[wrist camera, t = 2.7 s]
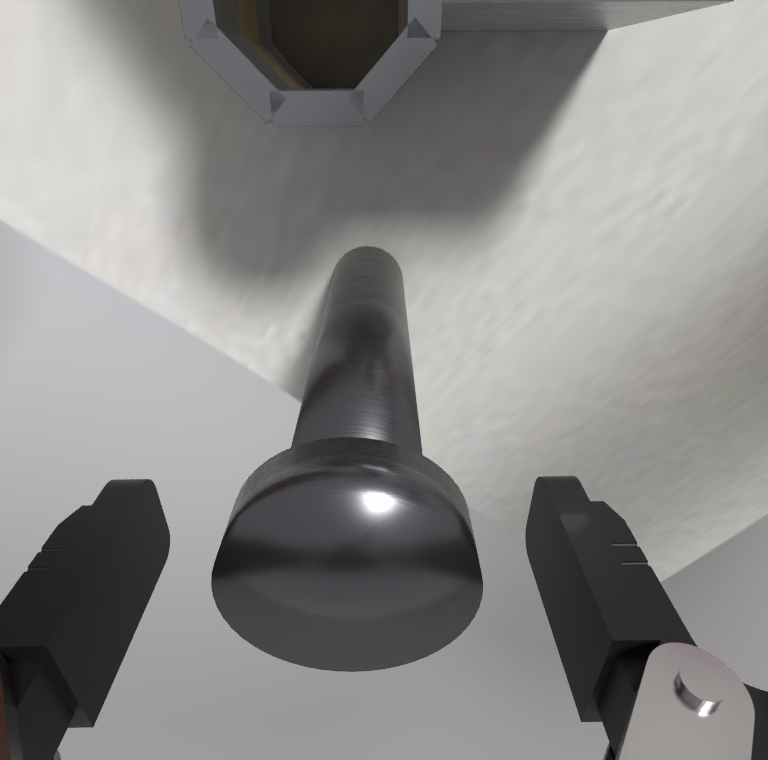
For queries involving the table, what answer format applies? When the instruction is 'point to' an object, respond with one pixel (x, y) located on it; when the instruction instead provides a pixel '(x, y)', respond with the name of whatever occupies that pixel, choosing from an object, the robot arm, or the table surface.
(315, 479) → the hinge pin
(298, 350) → the table surface
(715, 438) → the table surface
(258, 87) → the hinge
